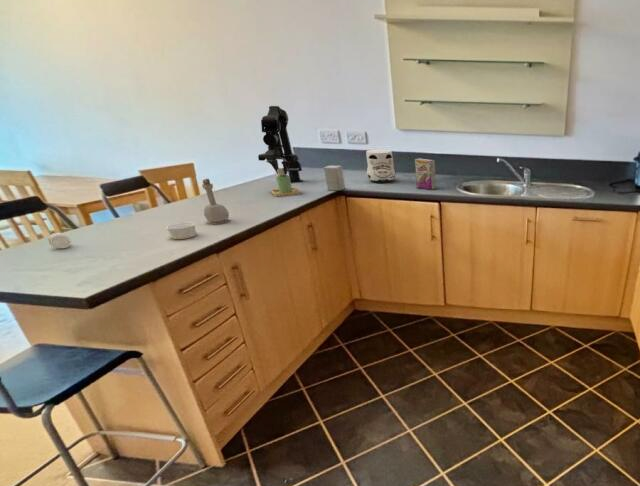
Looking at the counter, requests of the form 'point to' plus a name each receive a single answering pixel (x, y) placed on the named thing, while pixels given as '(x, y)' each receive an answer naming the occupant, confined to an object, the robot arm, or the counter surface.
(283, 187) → the bottle
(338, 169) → the white packaging box
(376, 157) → the cream face block
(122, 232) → the counter surface
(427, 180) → the candy bar box
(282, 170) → the cap
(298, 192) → the tray
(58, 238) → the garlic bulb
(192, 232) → the ramekin
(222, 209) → the potion bottle
